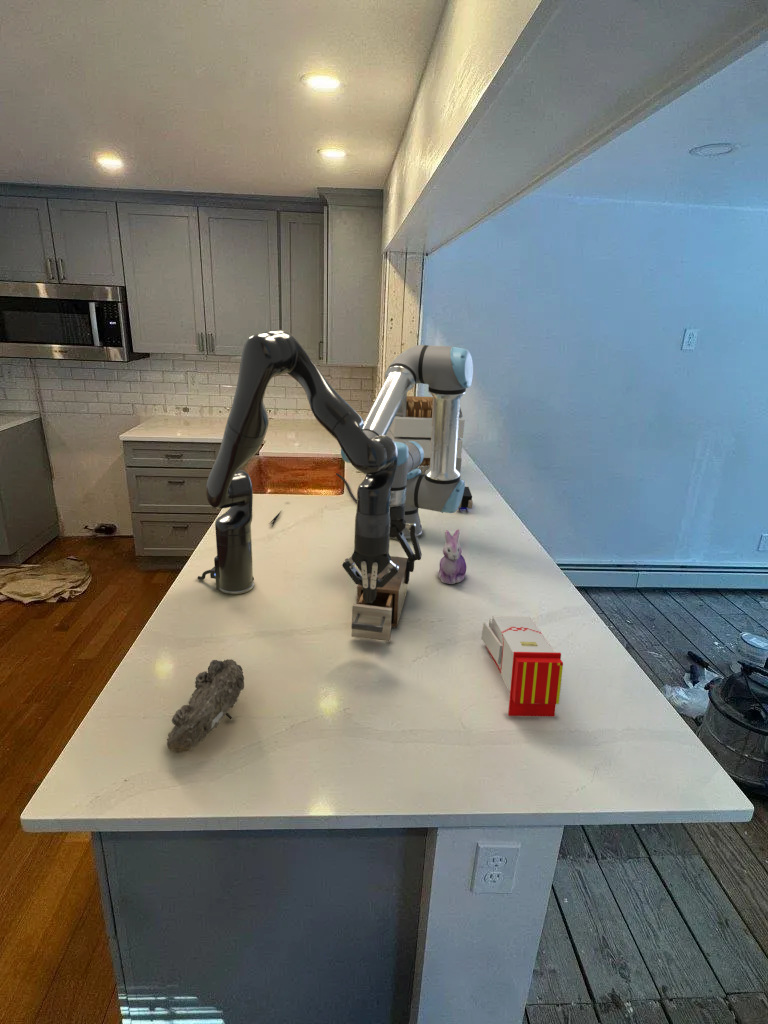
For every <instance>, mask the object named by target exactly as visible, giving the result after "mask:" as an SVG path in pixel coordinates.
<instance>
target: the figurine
mask: <svg viewBox="0 0 768 1024" xmlns="http://www.w3.org/2000/svg"><path fill="white" fill-rule="evenodd" d="M460 530H461V529H459V528H458V529H456V530H455V532H454V533H453V535H451V533H450V531H449V530H447V529H446V530H445V531H444V538H445V544H444V546H443V549H442V553H443V557H441V559H440V560H439V571H438V578H439V579H440V581H441V582H442V583H443V584H449V585H454V584H457V583H461V582H462V581H464V580H465V576H466V572H467V563H466V559H465V557H464V556H463V555H462V554H463V550H462V546H461V544H460V541H459V539H460V536H461V535H460V534H461V531H460Z"/></svg>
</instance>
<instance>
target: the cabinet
mask: <svg viewBox="0 0 768 1024" xmlns="http://www.w3.org/2000/svg"><path fill="white" fill-rule="evenodd" d="M390 557H391V561H392V562H393V563H394V564H398V565H399V570H398V573H397V574H396V575H395V576H394V577H393V578H392V579H391V580H390V581H389V582H388V583H387V584H386V585H385V586H384V587H382V588H380V587H377V592H382V593H390V594H395V600H394V615H393V618H392V621H391V628H398V625H399V621H400V618H401V614H402V610H403V608H404V604H405V600H406V596H407V592H408V584H405V581H406V564H407V559H408V557H403V556H394V555H393V556H392V555H390ZM387 569H388V565H387V566H386V568H385V569H384V570H383V571H382V572H381V573H379V575H378V579H381V578H382V577H383V576H384V575H385V574H386V573H387V572H388V571H387ZM370 584H371V574H370ZM362 593H363V587H362V586H361V585H357V587H356V604H358V602H359V600H360V598H361V595H362Z"/></svg>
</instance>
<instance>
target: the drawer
mask: <svg viewBox="0 0 768 1024" xmlns="http://www.w3.org/2000/svg"><path fill="white" fill-rule="evenodd" d="M394 600H395V594H390V593H382V592H376V599H375V601H373V602H372V603H365V600H363V593H362V595H361V598H360V600H359V602H358V604H357V603H353V604H352V605H351V613H352V614H351V626H350V627H351V637H353V638H360V639H365V640H366V639H367V640H374V641H383V642H391V634H392V627H391V621H392V618H393V615H394Z"/></svg>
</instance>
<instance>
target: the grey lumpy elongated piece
mask: <svg viewBox="0 0 768 1024" xmlns="http://www.w3.org/2000/svg"><path fill="white" fill-rule="evenodd" d="M243 670H244V669H243V667H242V665H240V664H237V662H236V661H235V660H234V659H232V658H231V659H227V658H226V659H224V660H223V661H222V660H217V659H212V660H211V661H210V663H209V665H208V666H207V671H201V672H199V673H198V674H197V675H196V676H195V680H194V684H195V685H194V687H195V689H194V690H193V693H192V694H191V697H190V698H189V700H188V704H184V705H182V706H181V707H180V709H177V710H176V711H175V713H174V715H173V716H172V718H171V723H172V724H173V727H172V730H171V731H170V732H168V734H167V738H166V741H167V742H166V745H167V749H168V750H169V751H173V752H174V753H176V754H178V753H182V752H188V751H189V752H192V751H193V750H195V748H196V747H197V746H199V744H200V743H201V742H203V741H204V740H205V739H206V738H207V737H208V736H209V735H210V734H211V733H212V732H214V730H215V729H217V727H218V726H219V724H220V722H221V721H222V720H223V719H224V718H225V716H226V717H227V719H229V720H233V717H232V715H230V714H229V710H230V709H231V708H234V706H235V704H236V703H237V702H238V699H239V697H240V695H241V693H242V691H243V690H245V689H244V688H245V675H244V671H243Z"/></svg>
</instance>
